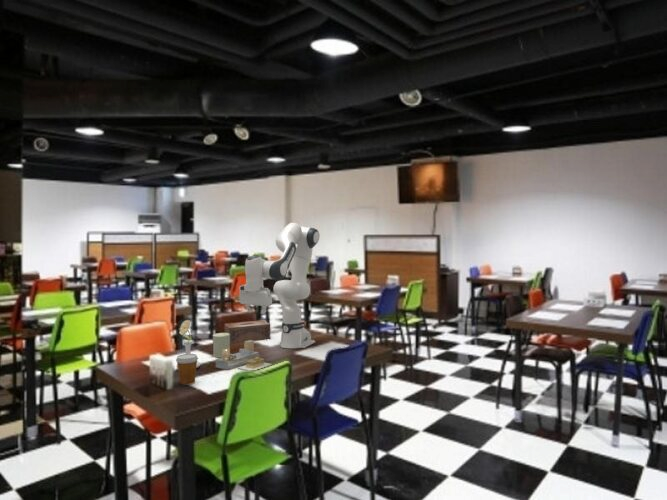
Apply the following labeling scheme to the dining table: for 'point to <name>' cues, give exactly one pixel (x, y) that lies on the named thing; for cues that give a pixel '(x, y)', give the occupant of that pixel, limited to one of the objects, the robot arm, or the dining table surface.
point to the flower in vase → (187, 343)
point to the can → (220, 343)
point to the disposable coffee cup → (187, 368)
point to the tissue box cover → (248, 331)
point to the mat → (254, 368)
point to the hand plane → (237, 356)
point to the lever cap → (255, 362)
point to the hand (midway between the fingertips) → (256, 313)
